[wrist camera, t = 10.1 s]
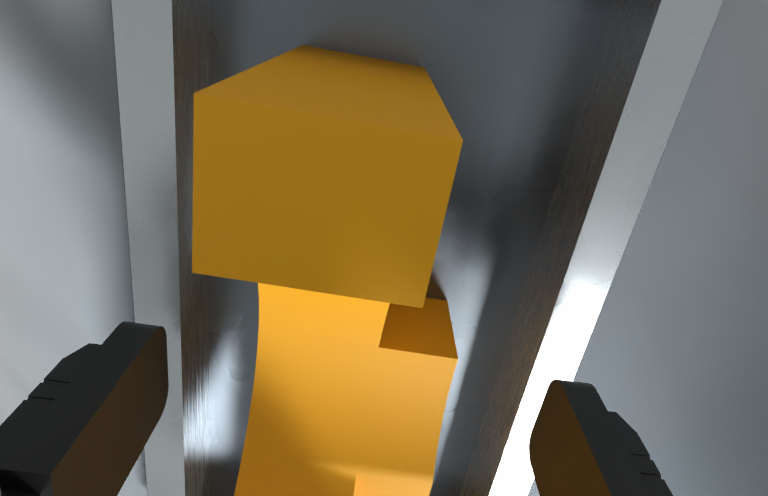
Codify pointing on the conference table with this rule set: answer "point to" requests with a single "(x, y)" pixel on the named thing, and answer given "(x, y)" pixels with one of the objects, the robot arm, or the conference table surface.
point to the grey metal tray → (464, 210)
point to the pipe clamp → (332, 265)
